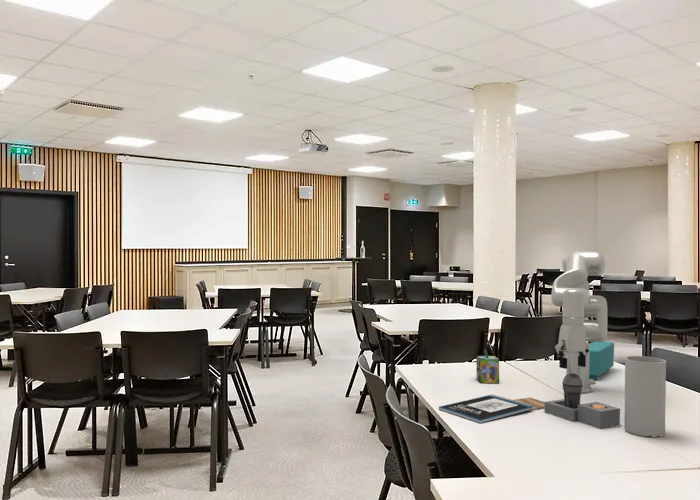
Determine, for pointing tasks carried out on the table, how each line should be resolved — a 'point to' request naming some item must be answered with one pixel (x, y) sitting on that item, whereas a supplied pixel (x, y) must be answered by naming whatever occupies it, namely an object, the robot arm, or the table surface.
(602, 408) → the brown egg
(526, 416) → the table surface
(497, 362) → the chalk box
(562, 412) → the grey hollow tray
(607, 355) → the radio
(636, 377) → the cylinder vase
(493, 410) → the sketchbook
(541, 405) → the pad
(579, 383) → the beverage cup
